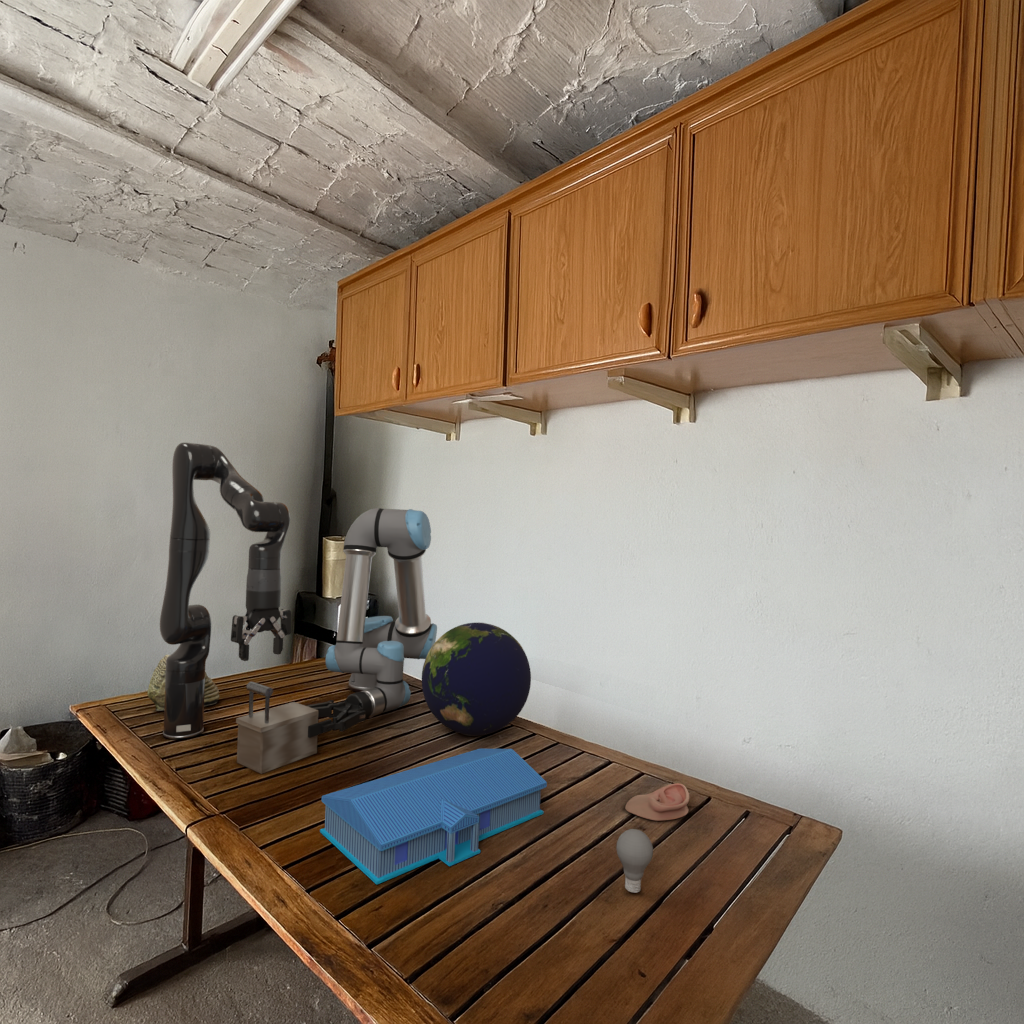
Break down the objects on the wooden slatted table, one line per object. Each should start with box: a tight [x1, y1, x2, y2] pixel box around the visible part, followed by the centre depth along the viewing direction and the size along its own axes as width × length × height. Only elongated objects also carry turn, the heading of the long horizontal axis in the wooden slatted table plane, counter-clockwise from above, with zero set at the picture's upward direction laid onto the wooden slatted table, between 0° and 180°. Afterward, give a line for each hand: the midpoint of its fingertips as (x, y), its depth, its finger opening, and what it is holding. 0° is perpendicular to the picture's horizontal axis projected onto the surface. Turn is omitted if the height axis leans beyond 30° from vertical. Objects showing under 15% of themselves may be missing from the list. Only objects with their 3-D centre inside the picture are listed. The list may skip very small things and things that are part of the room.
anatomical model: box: [624, 783, 691, 822], centre depth 135 cm, size 13×4×12 cm
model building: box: [319, 747, 548, 885], centre depth 124 cm, size 39×24×10 cm, turn 132°
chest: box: [236, 715, 319, 775], centre depth 152 cm, size 15×10×10 cm, turn 146°
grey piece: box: [235, 681, 318, 733], centre depth 152 cm, size 16×10×9 cm, turn 146°
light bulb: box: [615, 828, 654, 894], centre depth 106 cm, size 6×6×10 cm
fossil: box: [147, 654, 221, 712], centre depth 185 cm, size 9×18×15 cm, turn 132°
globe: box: [421, 621, 532, 737], centre depth 174 cm, size 30×30×30 cm
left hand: (261, 657), depth 147 cm, fingers open, 8 cm apart
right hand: (295, 726), depth 156 cm, fingers closed on chest, 10 cm apart
